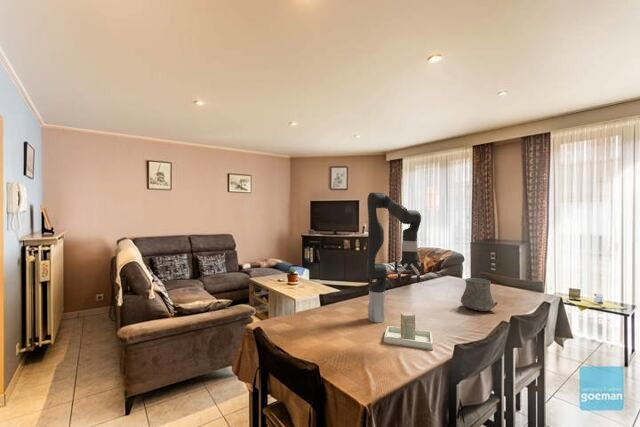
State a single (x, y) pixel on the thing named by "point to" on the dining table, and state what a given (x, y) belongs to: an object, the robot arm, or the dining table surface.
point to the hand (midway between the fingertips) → (408, 282)
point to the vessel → (478, 295)
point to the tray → (421, 339)
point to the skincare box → (408, 326)
